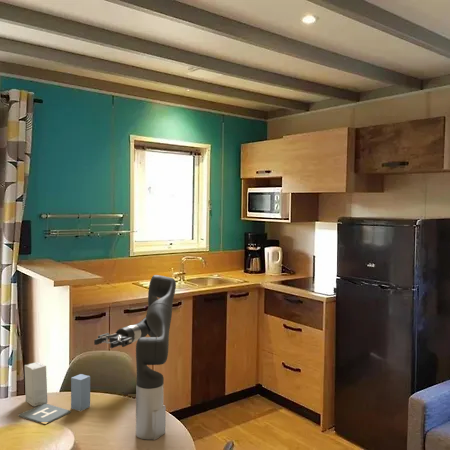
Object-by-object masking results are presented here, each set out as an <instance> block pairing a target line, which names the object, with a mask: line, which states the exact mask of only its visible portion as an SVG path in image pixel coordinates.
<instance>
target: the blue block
mask: <svg viewBox="0 0 450 450" xmlns="http://www.w3.org/2000/svg"><path fill="white" fill-rule="evenodd" d="M70 382H71V383H70V388H71V389H70V409H71V410H74V409H75V410H74V411H79V412H83V411H84V410H86V409H88V408H90V407H91V376H90V375H86V374H83V373H79V374H77V375H75V376H71V378H70Z"/></svg>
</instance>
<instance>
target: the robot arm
mask: <svg viewBox="0 0 450 450" xmlns="http://www.w3.org/2000/svg"><path fill="white" fill-rule="evenodd" d="M176 288H177V283H176V279H174V278H172V277H170V276H165V275H160V274H159V275H158V274H154V275H152V277H151V278H150V282H149V285H148V290H147V291H148V292H147V293H148V295H147V311H146V314H145V317H144V318H143V319H142V320H140V321H139V322H137V323H135V324H130V325H126V326H124V327H121V328H118V329H117V330H116V331H115V333H112V334H110V332H106V333H103V334H100V335H97V338H96V339H94V340H93V341H94V345H95V346H97V345H100V344H103V343H106V344H107V345H108V344H109V348H110V349H113V348H116V347H122V348H124V347H127V346H130V345H132V344H133V343H135V342H136V345H135V360H136V361H135V362H136V380H135V381H136V387H135V388H136V392H135V395H136V396H135V398H136V400H135V402H136V404H135V436H136V437H137V438H139V439H141V440H154V441H155V440H157V439H158V438H160V437H162V436H163V435H164V434H166V423H167V422H166V416H167V415H166V414H167V413H166V411H167V409H166V404H165V405H164V385H165V384H164V375H163V374H162V373H161V372H158V371H157V370H154V369H151V368H150V366H161V365H164V364H166V362H167V361H168V357H169V341H170V339H169V338H170V328H171V323H172V316H173V304H174V296H175V294H176Z"/></svg>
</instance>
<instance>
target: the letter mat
mask: <svg viewBox="0 0 450 450" xmlns="http://www.w3.org/2000/svg"><path fill="white" fill-rule="evenodd" d="M71 412H72V410H70V409H67V408H62V407H59V406H56V405H52V404H49V403H44V404H42V405H37V406H34V407H33V408H30V409H28V410H26V411H24V412H22V413H19V414H18V417H20V418H24V419H26V420H29V421H32V422H35V421H36V422H35V423H38V422H50V423H51V422H52V423H53V422H54V421H56V420H58V419H60V418H61V417H64V416H66V415H68V414H70V413H71Z"/></svg>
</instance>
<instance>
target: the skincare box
mask: <svg viewBox="0 0 450 450" xmlns="http://www.w3.org/2000/svg"><path fill="white" fill-rule="evenodd" d="M47 382H48V379H47V365H45V364H43V363H41V362H39V361H37V362H31V363H28V364H24V385H25V386H24V387H25V390H24V391H25V394H24V396H25V402H26V403H28V404H30V405H31V406H32V407H37V406H39V405H42V404H44V403H46V404H48V383H47Z"/></svg>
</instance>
